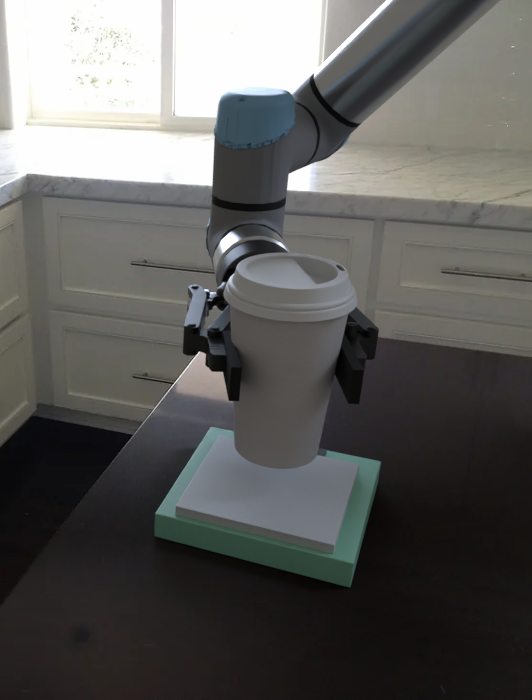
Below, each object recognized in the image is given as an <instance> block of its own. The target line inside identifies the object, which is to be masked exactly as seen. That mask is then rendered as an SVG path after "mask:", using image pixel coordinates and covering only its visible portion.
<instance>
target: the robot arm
mask: <svg viewBox="0 0 532 700" xmlns="http://www.w3.org/2000/svg"><path fill="white" fill-rule="evenodd" d="M501 1H502V0H385V1H384V2H383V3H382V4H381V5H380V6H379V7H378V8H377V9H376V10H375V11H374V12H373V13H372V14H371V15H370V16H369V17H368V18H367V19H366V20H365V21H364V22H363V23H362V24H361V25H360V26H359V27H358V28H357V29H356V30H355V31H354V32H353V33H352V34H351V35H350V36H349V37H348V38H346V40H345V41H344V42H343V43H342V44H341V45H340V46H339V47H338V48H336V50H335V51H333V53H331V55H330V56H329V57H328V58H326V60H325V61H323V63H322V64H320V66H318V68H316V70H314V72H313V73H312V74H311V75H310V76H309V77H308V78H307V79H306V80H305V81H304V82H303V83H301V85H300V86H299V87H297V89H296V90H295V91H293V93H291V92H290V91H289V90H285V89H282V88H275V87H265V86H263V87H261V86H253V87H252V86H251V87H250V86H249V87H248V86H247V87H242V88H240V87H238V88H237V87H236V88H231V89H228V90H226V91H225V92H223V93H222V94H221V95H220V97H219V99H218V102H217V111H216V119H215V120H216V121H215V124H214V128H213V136H214V138H213V139H214V143H213V164H212V165H213V166H212V184H211V185H212V187H211V200H210V215H209V218H208V221H207V226H206V228H205V232H206V234H205V235H206V237H205V247H206V250H207V253H208V256H209V257H210V261H211V265H212V269H213V273H214V278H215V282H216V287H217V288H216V290H215V291H211V290H210V289H204V288H203V286H201V285H199V284H195V283H194V284H190V285H188V286H187V302H186V303H187V306H186V316H185V320H184V324H183V338H182V339H183V340H182V354H183V355H186V356H187V357H188V356H189V357H191V356H192V357H193V356H197V355H198V353H203V354H205V362H204V364H205V367H206V368H208V370H210V371H211V372H212V373H222V374H223V380H224V384H225V389H226V394H227V395H226V396H227V400H228V402H233V401H239V398H240V385H241V373H242V366H241V362H240V358H239V354H238V350H237V347H236V346H235V345H234V344H233V343H232V340H231V319H230V304H229V303H228V302H227V301H226V300H225V298H224V290H225V287H226V284H227V282H228V280H229V278H230V277H231V276H232V275H233V274H234V273H235V270H236V267H237V265H238V264H239V262H241V261H242V260H244V259H246V258H248V257H251V256H255V255H260V254H266V253H291V251H290V249H289V247H288V246H287V244H286V242H285V239H284V236H283V234H284V225H285V224H284V223H285V213H286V203H287V193H288V184H289V175H290V174H291V173H294V172H296V171H298V170H301V169H303V168H305V167H308V166H311V165H313V164H315V163H318V162H322V161H324V160H326V159H329V158H330V157H331V156H333V155H334V154H335V153H337V152H338V151H339V150H340V149H341V148H343V146H345V144H346V143H347V142H348V140H349V138H350V136H352V135H351V134H352V133H353V132H354V131H356V130H357V129H358V128H359V127H360V126H361V125H362V124H363V123H364V122H365V121H366V120H367V119H368V118H369V117H370V116H372V115H373V114H374V113H375V112H376V111H377V110H378V109H380V108H381V107H383V105H384V104H385V103H386V102H388V100H390V99H391V98H392V97H393V96H394V95H395V94H397V93H398V92H399V91H401V89H402V88H404V86H406V85H407V84H408V83H409V82H410V81H412V80H413V79H414V78H415V77H416V76H417V75H418V74H419V73H420V72H421V71H423V70H424V69H425V68H426V67H427V66H428V65H430V64H431V63H432V62H433V61H434V60H435V59H436V58H438V57H439V56H440V55H441V54H442V53H443V52H445V50H446V49H448V48H449V47H450V46H451V45H453V43H454V42H456V41H457V40H458V39H459V38H460V37H461V36H463V34H464V33H466V32H467V31H468V30H469V29H470V28H472V27H473V26H474V25H475V24H476V23H477V22H478V21H479V20H481V19H482V18H483V17H484V16H485V15H486V14H488V12H489V11H491V10H492V9H493V8H495V6H496V5H497V4H498V3H500V2H501ZM214 307H216V308H217V309H218V310H219V311H221V313H220V314H218V316H217V317H216V318H215V319H214V320H213V321H212V323H211V324H209V326H208V327H207V329H205V324H206V318H208V317H210V311H212V310H213V309H214ZM379 332H380V329H379V327H377V325H376V324H375V323H373V321H372V320H371V319H370V318H368V316H366V315H365V314H364V313H363V312H362V311H361V310H360V309H359V308H358V307H357V306H356V307H355V309H354V310H353V311H351V312H350V313H348V317H347V322H346V326H345V330H344V335H343V339H342V344H341V348H340V353H339V357H338V362H337V366H336V371H335V375H334V377H335V378H336V380H337V383H338V384H339V386H340V388H341V391H342V393H343V395H344V398H345V399H346V401H347V404H348V405H360V402H361V395H362V387H363V380H364V374H365V369H366V362H367V361H372V360H374V359H375V358H376V353H377V346H378V345H377V344H378V339H379Z"/></svg>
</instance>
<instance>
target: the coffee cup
mask: <svg viewBox="0 0 532 700" xmlns="http://www.w3.org/2000/svg"><path fill="white" fill-rule="evenodd" d="M224 298H225V300H226V301H227V302H228V303H229V304H230V319H231V340H232V343H233V344H234V345H235V346H236V347H237V350H238V354H239V358H240V362H241V366H242V373H241V385H240V398H239V401H232V406H233V407H232V409H233V410H232V411H233V414H232V415H233V431H234V445H235V449H236V451H237V452H238V453H239V454H240V455H241V456H242V457H243V458H245V459H246V460H248V461H250V462H252V463H254V464H257V465H260V466H263V467H268V468H275V469H291V468H297V467H301V466H304V465H307V464H309V463H310V462H312V461H313V460H314V459H315V458H316V456H317V453H318V449H319V448H320V444H321V439H322V436H323V435H322V434H323V430H324V425H325V420H326V416H327V412H328V406H329V402H330V398H331V392H332V389H333V384H334V379H335V371H336V366H337V362H338V357H339V353H340V348H341V344H342V339H343V335H344V330H345V326H346V322H347V317H348V313H350V312H351V311H353V310H354V309H355V307H357V306H358V297H357V292H356V288H355V286H354V284H353V283H352V282H351V280H350V274H349V271H348V269H347V268H346V267H345V266H344V265H342V264H341V263H339V262H337V261H335V260H332V259H329V258H326V257H324V256H320V255H314V254H308V253H300V252H290V253H266V254H260V255H255V256H251V257H248V258H246V259H244V260H242V261H241V262H239V264H238V265H237V267H236V270H235V273H234V274H233V275H232V276H231V277H230V278H229V280H228V282H227V284H226V287H225V290H224Z"/></svg>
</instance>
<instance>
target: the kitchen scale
mask: <svg viewBox="0 0 532 700" xmlns="http://www.w3.org/2000/svg"><path fill="white" fill-rule="evenodd" d="M381 466H382V462H381V460H376V459H371V458H367V457H361V456H356V455H351V454H346V453H341V452H337V451H331V450H328V449H327V448H323V447H319V449H318V453H317V456H316V458H315V459H314V460H313V461H312V462H310V463H309V464H307V465H304V466H301V467H297V468H291V469H275V468H268V467H263V466H260V465H257V464H254V463H252V462H250V461H248V460H246V459H245V458H243V457H242V456H241V455H240V454H239V453H238V452H237V451H236V449H235V445H234V430H230V429H224V428H220V427H215V426H210V427H209V429H208V431H207V432H206V433H205V435H204V437H203V438H202V440H201V441H200V443H199V445H198V446H197V448H196V449H195V450H194V452H193V454H192V455H191V457H190V459H188V462H187V463H186V465H185V467H184V468H183V469H182V471H181V472H180V474H179V476H178V477H177V479H176V480H175V482H174V483H173V485H172V486H171V488H170V490H169V491H168V493H167V494H166V496H165V497H164V498H163V501H162V502H161V504H160V505H159V507H158V508H157V510H156V512H155V513H154V533H153V534H154V537H155V538H159V539H163V540H167V541H171V542H174V543H179V544H182V545H185V546H190V547H194V548H198V549H201V550H205V551H209V552H212V553H215V554H216V553H217V554H220V555H224V556H227V557H231V558H236V559H240V560H243V561H247V562H250V563H255V564H258V565H262V566H266V567H269V568H274V569H278V570H281V571H284V572H288V573H292V574H296V575H301V576H304V577H307V578H312V579H315V580H319V581H323V582H327V583H331V584H334V585H338V586H342V587H346V588H351V586H352V584H353V583H352V582H353V579H354V574H355V572H356V567H357V563H358V560H359V557H360V552H361V548H362V544H363V541H364V537H365V533H366V529H367V525H368V523H369V518H370V514H371V512H372V511H371V510H372V507H373V503H374V499H375V495H376V492H377V487H378V484H379V477H380V472H381Z"/></svg>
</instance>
